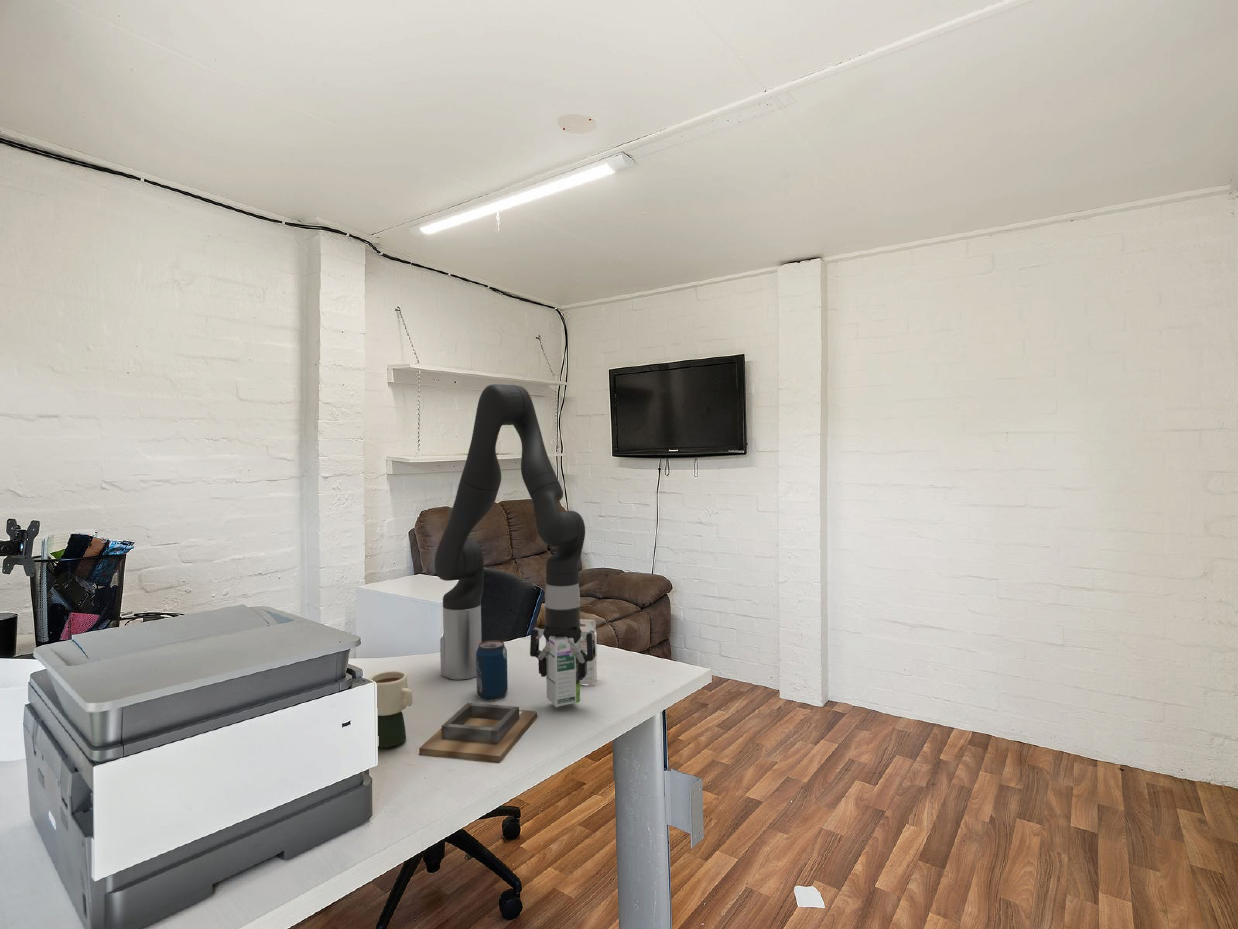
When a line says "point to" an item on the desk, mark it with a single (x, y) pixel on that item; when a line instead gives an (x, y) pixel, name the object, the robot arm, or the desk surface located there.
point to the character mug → (391, 706)
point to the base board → (480, 732)
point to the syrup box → (562, 672)
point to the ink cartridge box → (591, 665)
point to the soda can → (491, 670)
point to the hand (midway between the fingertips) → (562, 677)
